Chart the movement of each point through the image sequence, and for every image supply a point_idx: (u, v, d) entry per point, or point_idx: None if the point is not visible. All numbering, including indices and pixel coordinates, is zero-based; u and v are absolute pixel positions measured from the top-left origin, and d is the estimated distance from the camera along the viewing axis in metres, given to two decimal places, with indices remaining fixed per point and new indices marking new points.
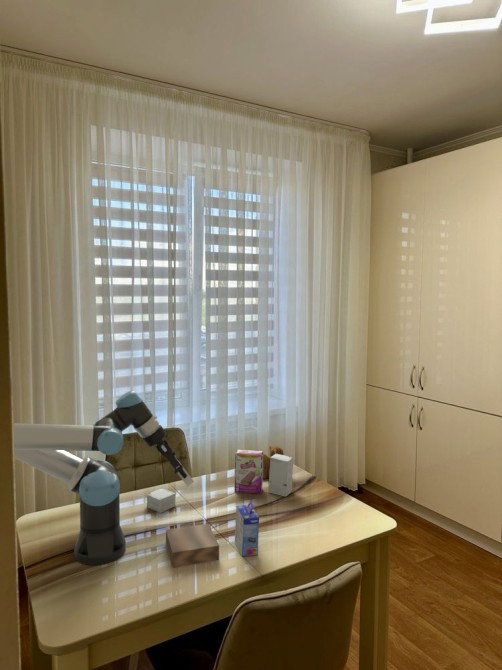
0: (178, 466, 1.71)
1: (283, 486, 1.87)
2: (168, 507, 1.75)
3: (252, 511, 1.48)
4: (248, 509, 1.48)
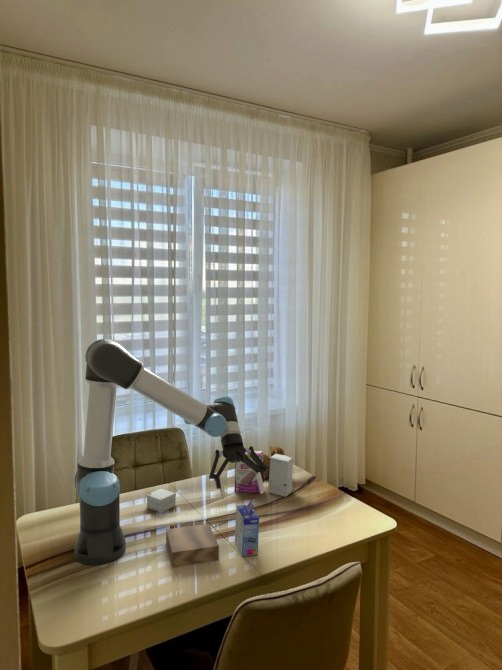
0: None
1: (283, 486, 1.87)
2: (168, 507, 1.75)
3: (252, 511, 1.48)
4: (248, 509, 1.48)
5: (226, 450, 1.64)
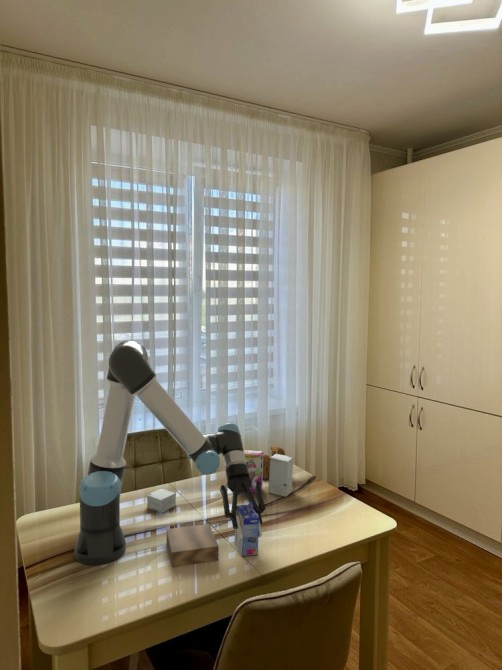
0: None
1: (283, 486, 1.87)
2: (169, 507, 1.75)
3: (252, 511, 1.48)
4: (248, 509, 1.48)
5: (230, 482, 1.54)
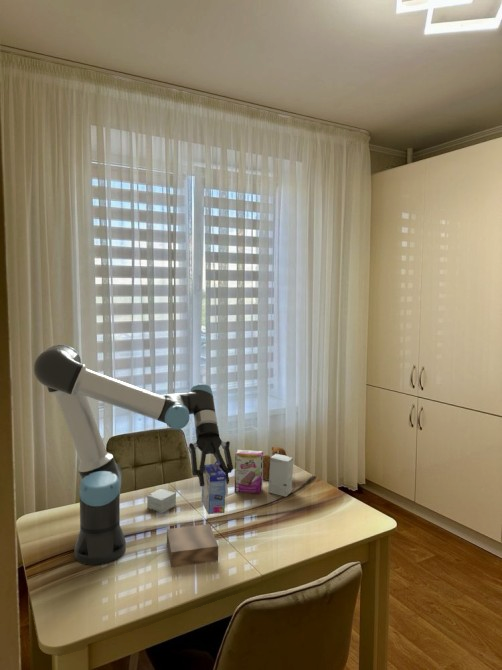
0: None
1: (283, 486, 1.87)
2: (169, 507, 1.75)
3: (219, 469, 1.46)
4: (215, 467, 1.46)
5: (199, 440, 1.52)
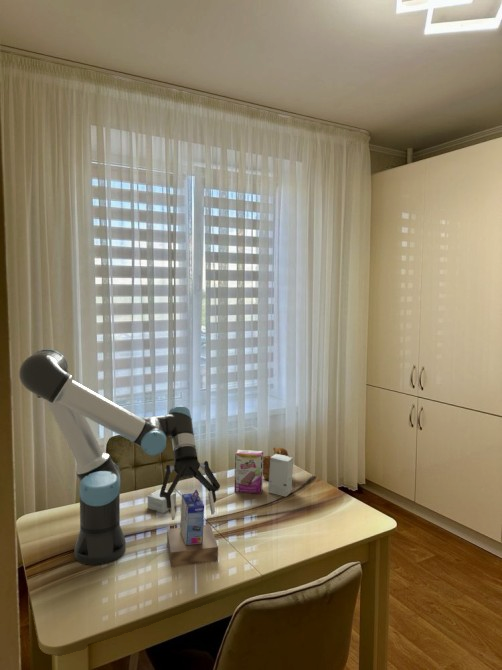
0: None
1: (283, 486, 1.87)
2: None
3: (197, 499, 1.45)
4: (193, 497, 1.46)
5: (178, 464, 1.51)
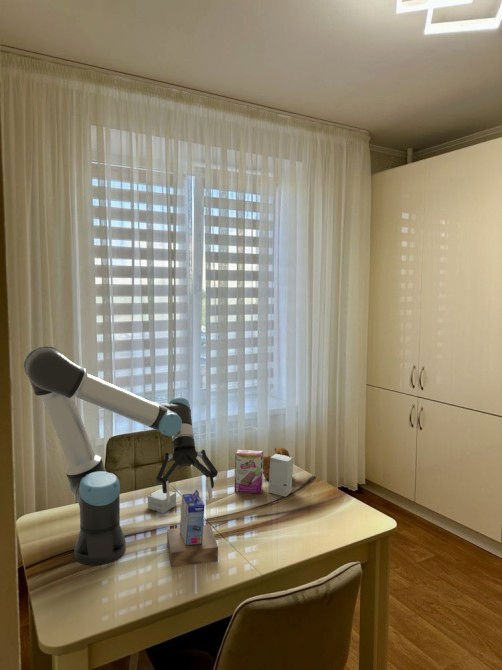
0: None
1: (283, 486, 1.87)
2: (170, 507, 1.75)
3: (198, 499, 1.46)
4: (194, 497, 1.46)
5: (176, 453, 1.59)
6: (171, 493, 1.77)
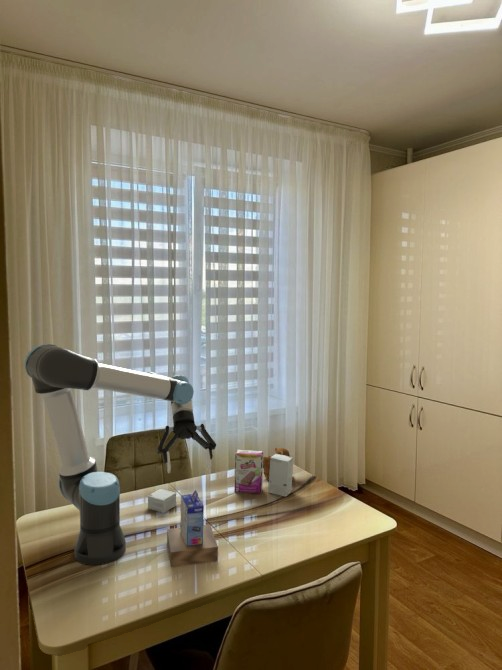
0: None
1: (283, 486, 1.87)
2: (170, 507, 1.75)
3: (197, 500, 1.45)
4: (193, 498, 1.45)
5: (176, 426, 1.65)
6: (171, 493, 1.77)
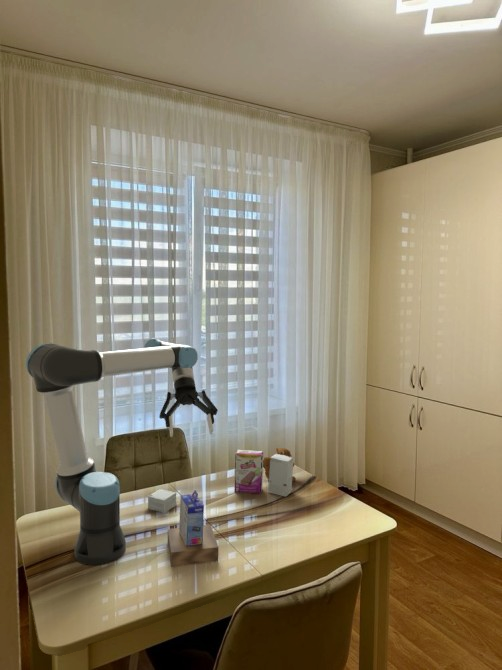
0: None
1: (283, 486, 1.87)
2: (171, 507, 1.75)
3: (197, 500, 1.45)
4: (192, 498, 1.45)
5: (178, 393, 1.68)
6: (171, 493, 1.77)
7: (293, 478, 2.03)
